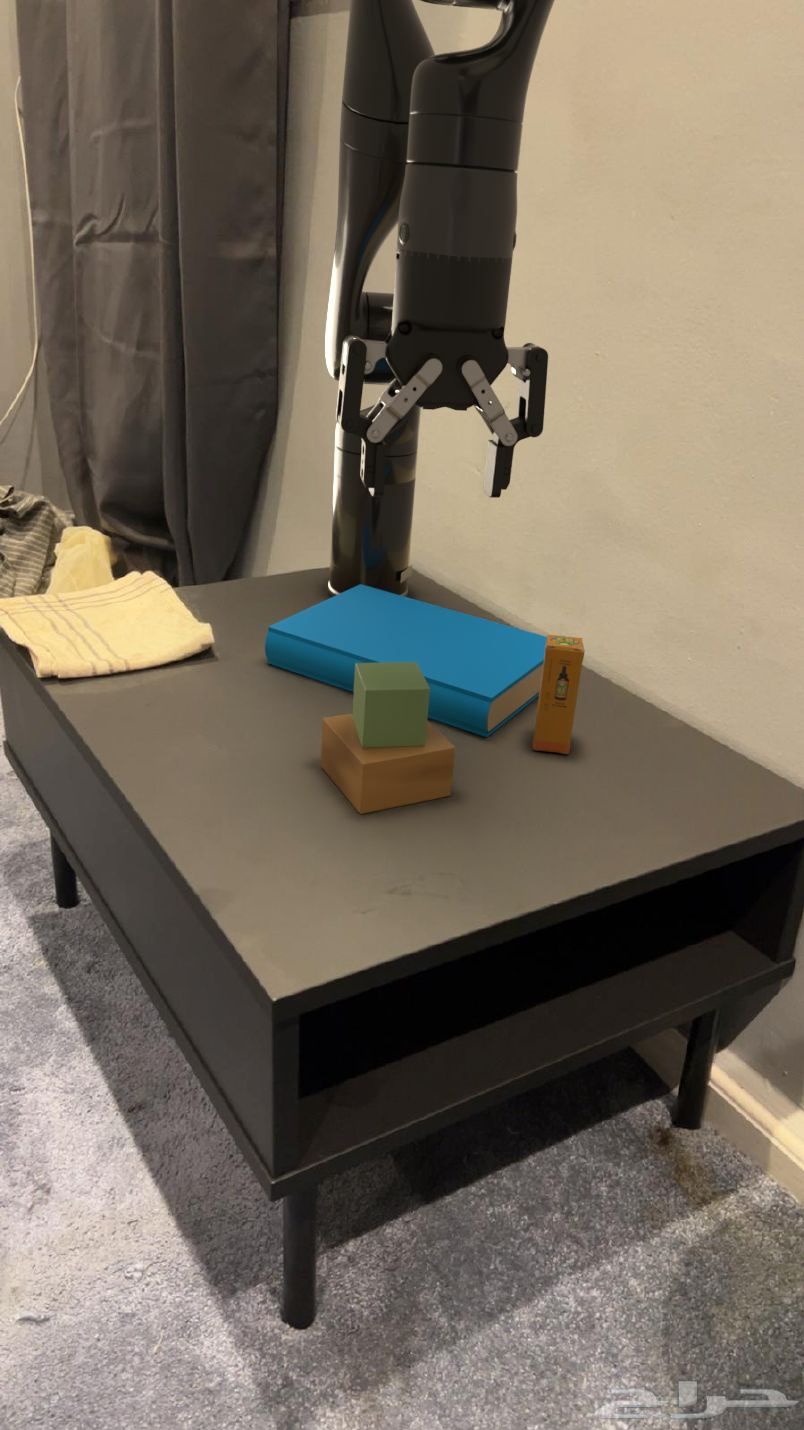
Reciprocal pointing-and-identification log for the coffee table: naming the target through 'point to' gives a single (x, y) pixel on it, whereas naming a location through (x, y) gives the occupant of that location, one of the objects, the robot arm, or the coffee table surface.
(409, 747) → the oak block
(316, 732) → the coffee table surface
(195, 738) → the coffee table surface
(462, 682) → the book
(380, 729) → the green block
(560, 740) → the supplement box
